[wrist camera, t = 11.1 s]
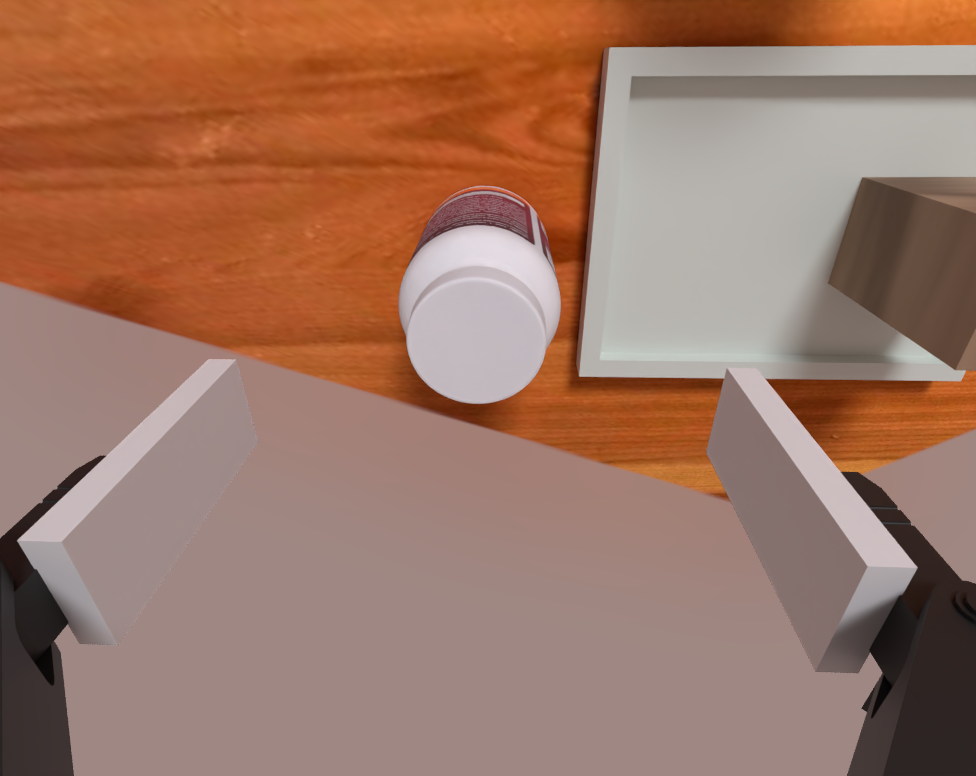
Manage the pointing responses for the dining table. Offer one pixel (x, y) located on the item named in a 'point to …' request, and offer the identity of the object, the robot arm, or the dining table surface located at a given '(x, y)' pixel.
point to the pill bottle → (480, 297)
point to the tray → (756, 204)
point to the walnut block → (915, 261)
